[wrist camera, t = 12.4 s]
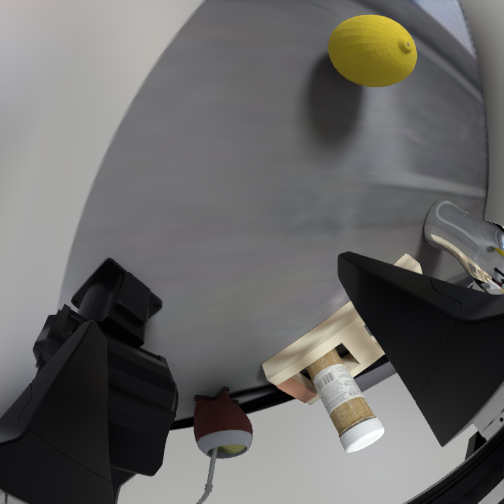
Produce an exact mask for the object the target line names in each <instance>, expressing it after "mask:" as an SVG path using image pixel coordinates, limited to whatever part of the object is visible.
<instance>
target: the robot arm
mask: <svg viewBox="0 0 504 504" xmlns="http://www.w3.org/2000/svg"><path fill="white" fill-rule="evenodd" d="M107 263H110V264H111V265H112V266H108V265H107ZM338 277H339V280H340V282H341V284H342V285H343V287H344V289H345V291H346V293H347V295H348V296H349V298H350V300H351V302H352V304H353V306H354V308H355V309H356V311H357V313H358V314H359V316H360V317H361V319H362V320H363V322H364V323H365V324H366V326H367V327H368V329H369V330H370V332H371V333H372V335H373V336H374V338H375V339H376V341H377V342H378V344H379V345H380V347H381V348H382V350H383V351H384V353H385V354H386V356H387V358H388V359H389V361H390V362H391V364H392V365H393V367H394V368H395V370H396V371H397V373H398V375H399V376H400V378H401V379H402V381H403V383H404V384H405V386H406V387H407V389H408V391H409V392H410V393H411V395H412V397H413V399H414V400H415V402H416V404H417V406H418V407H419V409H420V410H421V412H422V414H423V416H424V417H425V419H426V421H427V422H428V424H429V425H430V428H431V429H432V431H433V433H434V435H435V436H436V438H437V440H438V442H439V443H440V445H441V446H442V447H444V446H445V445H446V444H448V443H449V442H450V441H452V440H453V439H454V438H455V437H457V436H458V435H459V434H461V433H462V432H463V431H464V430H465V429H467V428H468V427H469V426H470V425H471V424H474V425H475V426H476V428H477V429H478V431H477V432H476V433H475V434H474V435H473V436H472V437H471V438H470V439H469V443H468V449H467V453H466V458H465V461H464V462H463V463H461V464H460V465H459V466H458V467H456V468H455V469H454V470H453V471H451V472H450V473H449V474H447V475H446V476H445V477H443V478H442V479H441V480H439V481H438V482H436V483H435V484H433V485H432V486H430V487H429V488H427V489H426V490H424V491H423V492H421V493H420V494H418V495H417V496H415V497H413V498H412V499H410V500H408V501H407V502H405V503H403V504H504V294H490V293H486V292H482V291H478V290H474V289H471V288H467V287H463V286H459V285H455V284H452V283H448V282H445V281H442V280H439V279H436V278H433V277H429V276H426V275H423V274H420V273H417V272H414V271H411V270H408V269H405V268H401V267H398V266H395V265H392V264H389V263H385V262H382V261H379V260H376V259H372V258H369V257H366V256H363V255H359V254H356V253H353V252H349V251H348V252H344V253H341V254H339V255H338ZM75 300H77V301H78V302H77V301H75ZM71 302H72V304H73V305H74V306H75V307H77V308H78V309H79V310H78V313H76V312H74V311H73V310H71V309H70V308H71V307H69V306H68V305H66V304H64V306H63V308H62V310H58V312H57V314H56V315H49V316H48V318H47V320H46V323H45V325H44V327H43V329H42V331H41V333H40V335H39V336H38V338H37V340H36V342H35V345H34V347H33V353H34V356H35V358H36V361H37V363H36V367H37V368H38V370H37V373H36V376H35V378H34V379H33V381H32V383H30V384H29V385H28V387H27V388H26V389H25V390H24V391H23V393H22V394H21V395H20V396H19V398H18V399H17V400H16V401H15V402H14V403H13V404H12V406H11V407H10V408H9V409H8V410H7V411H6V412H5V413H4V415H3V416H2V417H1V418H0V504H117V500H118V495H119V492H120V488H121V486H122V485H123V484H125V483H126V482H127V481H129V480H130V479H131V478H132V477H134V476H135V475H136V474H142V475H146V476H154V475H155V474H156V472H157V471H158V470H159V468H160V467H161V466H162V463H163V456H164V449H165V444H166V439H167V436H168V433H169V430H170V427H171V425H172V423H173V421H174V419H175V417H176V411H177V406H178V391H177V387H176V383H175V382H174V380H173V377H172V375H171V372H170V370H169V367H168V364H167V362H166V359H165V358H164V357H162V356H160V355H158V356H157V355H155V354H152V353H150V352H148V351H146V350H144V349H142V348H141V346H142V345H143V344H144V338H145V327H146V323H147V321H148V318H149V317H151V316H152V315H153V314H154V313H155V312H157V311H158V310H159V309H160V308H161V307H162V301H161V300H160V299H159V298H158V297H157V296H156V295H154V294H153V293H152V292H151V291H150V289H149V288H148V287H147V286H145V285H144V284H143V283H142V282H141V281H139V280H138V279H137V278H136V277H135V276H133V275H132V274H131V273H130V272H127V271H126V270H124V269H123V268H122V267H121V266H120V265H119V264H118V263H116V262H115V261H114V260H113V259H111V258H107V259H106V260H105V261H104V262H103V263H102V264H101V265H100V266H99V267H98V268H97V269H96V270H95V272H94V273H93V274H92V275H91V276H90V277H89V278H88V279H87V280H86V282H85V283H84V284H83V285H82V286H81V287H80V289H79V290H78V291H77V292H76V293H75V294H74V296H73V297H72V299H71ZM154 303H158V305H156V304H154Z"/></svg>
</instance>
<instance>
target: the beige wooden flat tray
mask: <svg viewBox="0 0 504 504" xmlns="http://www.w3.org/2000/svg"><path fill="white" fill-rule="evenodd" d="M394 265H395V266H398V267H401V268H405V269H408V270H411V271H414V272H417V273H420V274H422V270H421V267H420V264H419V263H418V262H417V261H415V260H414V259H413V258H412V257H410V256H409V255H408V254H407V253H406V254H405V255H404V256H402V257H401V258H400V259H399V260H398V261H397V262H396V263H395V264H394ZM364 325H365V323H364V322H363V320H362V319H361V317H360V316H359V314H358V313H357V311H356V309H355V308H354V306H353V304H352V302H351V301H349V302H348V303H347V304H345V305H344V306H343V307H342V308H340V309H339V310H338V311H336V312H335V313H334V314H332V315H331V316H330V317H329V318H327V319H326V320H325V321H323V322H322V323H320V324H319V325H318V326H316V327H315V328H314V329H312V330H311V331H310V332H308V333H307V334H305V335H304V336H303V337H301V338H300V339H298V340H297V341H295V342H294V343H293V344H291V345H290V346H288V347H287V348H285V349H284V350H282V351H281V352H279V353H278V354H276V355H275V356H273V357H272V358H270V359H269V360H267V361H266V362H264V363H263V364H262V366H263V369H264V372H265V375H266V378H267V380H268V381H269V382H271V383H273V384H274V385H276V386H277V388H279V389H280V390H282V391H284V392H286V393H287V394H289V395H291V396H293V397H295V398H297V399H298V400H300V401H302V402H304V403H308V404H310V405H311V404H313V403H314V402H316V401H318V400H319V399H321V398H320V396H319V394H318V392H317V389H316V387H315V385H314V383H313V381H312V379H311V380H309V379H308V378H306V377H305V376H303V375H302V374H301V373H299V372H300V371H301V370H303V369H304V368H306V367H307V366H309V365H310V364H312V363H313V362H315V361H316V360H318V359H319V358H321V357H322V356H323V355H325V354H326V353H328V352H329V351H331V350H332V349H333V348H335V347H336V346H337V345H339V344H340V343H343V345H344V346H345V347H346V348H347V349H348V350H349V351H350V353H349V354H347V355H346V356H345V357H343V358H342V359H341V360H342V362H343V364H344V365H345V366H346V368H347V369H348V371H349V373H350V374H351V376H352V378H353V377H354V376H356V375H357V374H358V373H360V372H361V371H363V370H364V369H365V368H367V367H368V366H369V365H371V364H372V363H374V362H375V361H376V360H377V359H379V358H380V357H381V356H383V355H384V354H385V353H384V351H383V350H382V348H381V347H380V345H379V344H378V342H377V341H376V339H375V338H374V336H371V337H370V335H369V334H368V332H367V331H366V329H365V328H364Z"/></svg>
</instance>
